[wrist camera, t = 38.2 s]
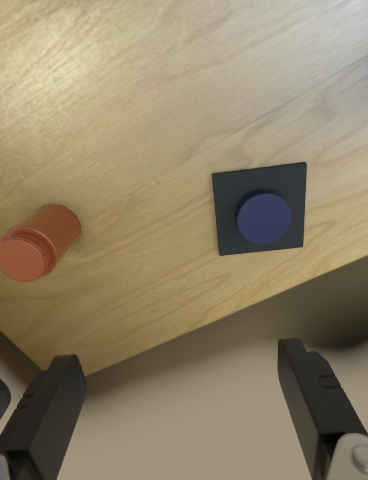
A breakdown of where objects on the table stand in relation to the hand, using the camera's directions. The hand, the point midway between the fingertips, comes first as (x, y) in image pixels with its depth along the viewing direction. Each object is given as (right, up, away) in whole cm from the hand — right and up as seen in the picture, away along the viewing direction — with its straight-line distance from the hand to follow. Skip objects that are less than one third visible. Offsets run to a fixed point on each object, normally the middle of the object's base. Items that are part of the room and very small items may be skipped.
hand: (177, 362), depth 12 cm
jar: (-15, +7, +24) cm, 29 cm away
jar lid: (+9, +7, +20) cm, 23 cm away
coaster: (+9, +8, +22) cm, 25 cm away
